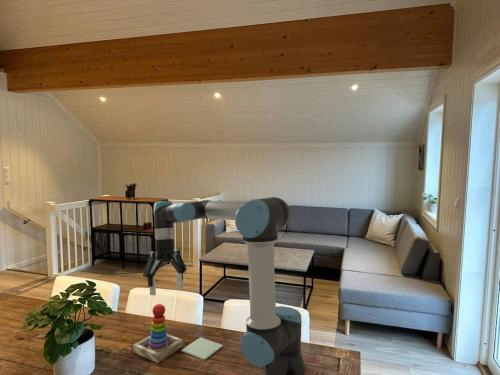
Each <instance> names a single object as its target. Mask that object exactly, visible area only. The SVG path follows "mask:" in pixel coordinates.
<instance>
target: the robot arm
mask: <svg viewBox="0 0 500 375" xmlns="http://www.w3.org/2000/svg"><path fill="white" fill-rule="evenodd" d="M153 218H154V222H153V224H154V239H155V242H154V243H155V250H156V251H150V252H149V256H148V257H149V258H148V259H147V263H146V265H145V268H144V271H143V273H142V277H144V278H146V279H147V286H148V288H149V296H157V293H156V292H157V291H156V290H157V289H156V277H154V276H155V275H156V274H157V271H158V270H159V268H160V267H161V265H162V264H163V263H167V262H168V263H170V264H171V266H172V267H173V268H174V270H175V271H176V272H177V273H175V276H176V277H175V278H176V290H179V291H181V290H183V289H184V288H183V286H184V285H183V281H184V274H185V272H187V269H188V268H187V267H186V264H185V262H184V260H183V257H182V255H181V250H180V249H174V248H175V239H174V238H175V235H174V234H175V233H174V232H175V231H174V224H178V223H186V222H189V221H194V220H201V219H211V220H212V219H213V220H226V221H228V220H229V221H235V222H234V223H235V227H236V229H237V231H238V233H239V234H240V235H241V236H242V242H244V244H246V246H247V261H248V266H247V267H248V284H249V285H248V287H249V290H248V291H249V307H250V308H249V311H250V312H249V313H250V315H249V316H248V317H247V318H246V320H245V324H246V325H245V326H246V328H245V329H246V332H244V333H243V335H242V336H241V338H240V340H239V346H240V351H241V353H242V355H243V356H244V358H246V361H248V363H250V364H251V365H252V366H255V367H260V368H261V367H263V370H264V374H265V375H306V364H305V363H306V362H305V361H304V357H303V354H302V351H301V349H302V324H303V321H302V314H301V312H300V311H299V310H297V309H295V308H293V307H290V306H281V305H276V304H277V303H276V280H275V279H276V277H275V250H274V249H275V248H274V245H275V244H276V243H277V241H278V240H279V238H278V237H279V236H278V234H279V233H278V232H279V230H281V229H283V228H284V227H286V226H287V225H288V223H289V221H290V218H291V209H290V206H289V205H288V203H287V202H286V201H285V200H284V199H283V198H281V197H278V196H277V197H275V196H272V197H265V198H256V199H251V200H247V201H245V200H244V201H242V200H241V201H240V200H235V201H234V200H231V201H230V200H209V199H205V200H199V201H198V200H197V201H190V202H189V201H187V202H186V201H182V202H179V203H175V204H173V203H172V201H169V200H162V201H161V200H160V201H156V202H155V203H154V205H153Z"/></svg>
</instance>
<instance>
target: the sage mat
mask: <svg viewBox="0 0 500 375" xmlns="http://www.w3.org/2000/svg"><path fill="white" fill-rule="evenodd" d="M223 347H224V345H223V344H222V343H218V342H216V341H212V340H210V339H206V338H204V337H199V338H197V339H196V340H195V341H193V342H191V343H189V344H188V345H187V346H185V347H183V348H182V349H181V350H180V351H181V352H183V353H185V354H186V355H190V356H192V357H195V358H198V359H200V360H202V361H206V360H207V359H208V358H210V357H211V356H212V355H214V354H215V353H216V352H219V350H221V349H222V348H223Z"/></svg>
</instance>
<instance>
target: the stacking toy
mask: <svg viewBox="0 0 500 375" xmlns="http://www.w3.org/2000/svg"><path fill="white" fill-rule="evenodd" d="M165 313H166V306H164V304H162V303H157V304H155V305H154V306H153V307H152V314H153V316H152V321H151V327H150V330H151V331H150V334H149V336H150V335H151V336H150V341H149V346H147V348H148V349H151V350H153V351H155V352H159V351H161V350H162V349H164V348H166V347H167V346H169V344H168V343H167V342H168V341H167V334H168V333H167V332H168V331H167V325H166V316H165ZM166 333H167V334H166Z"/></svg>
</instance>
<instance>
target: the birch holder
mask: <svg viewBox="0 0 500 375" xmlns="http://www.w3.org/2000/svg"><path fill="white" fill-rule="evenodd" d="M166 334H167V341H168V342H167V343H168V346H167V347H166V348H164V349H162V350H161V351H159V352H155V351H153V350H151V349H148V346H149V341H150V336H151V335H150V334H149V335H148V336H147V337H144V338H143V339H142V340H140V341H137V342H135V343H134V344H132V353H134V354H137V355H139V356H140V357H143V358H146V359H147V360H150V361H151V362H154V363H160V362H162V361H163V360H164V359H166V358H168V357H169V356H171V355H172V354H174V353H176V352H177V351H179V350H180V349H181V348H184V339H183V338H180V337H178V336H174V335H172V334H169V333H166Z"/></svg>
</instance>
